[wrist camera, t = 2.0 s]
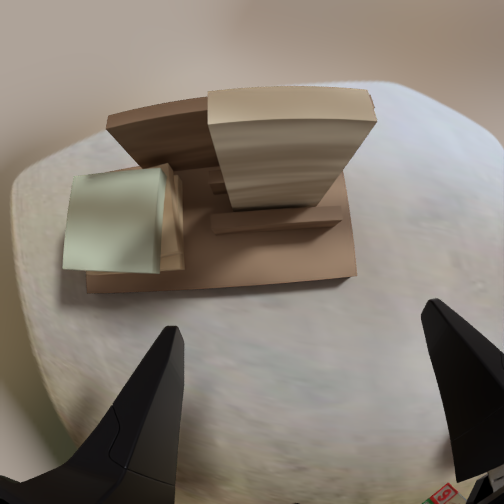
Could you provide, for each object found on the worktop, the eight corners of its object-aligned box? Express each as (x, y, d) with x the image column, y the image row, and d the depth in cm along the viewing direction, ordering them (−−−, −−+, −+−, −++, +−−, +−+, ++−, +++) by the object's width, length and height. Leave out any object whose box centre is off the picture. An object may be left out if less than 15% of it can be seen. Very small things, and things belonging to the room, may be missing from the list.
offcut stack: (189, 274, 21) (172, 271, 17) (93, 280, 21) (62, 277, 17) (186, 176, 22) (171, 152, 18) (95, 191, 22) (68, 173, 18)
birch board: (313, 211, 22) (377, 121, 9) (234, 216, 22) (207, 124, 9) (310, 192, 22) (367, 89, 9) (233, 197, 22) (207, 91, 9)
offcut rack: (351, 276, 23) (407, 269, 13) (95, 293, 23) (23, 293, 13) (334, 157, 24) (370, 94, 14) (97, 181, 24) (38, 138, 15)
